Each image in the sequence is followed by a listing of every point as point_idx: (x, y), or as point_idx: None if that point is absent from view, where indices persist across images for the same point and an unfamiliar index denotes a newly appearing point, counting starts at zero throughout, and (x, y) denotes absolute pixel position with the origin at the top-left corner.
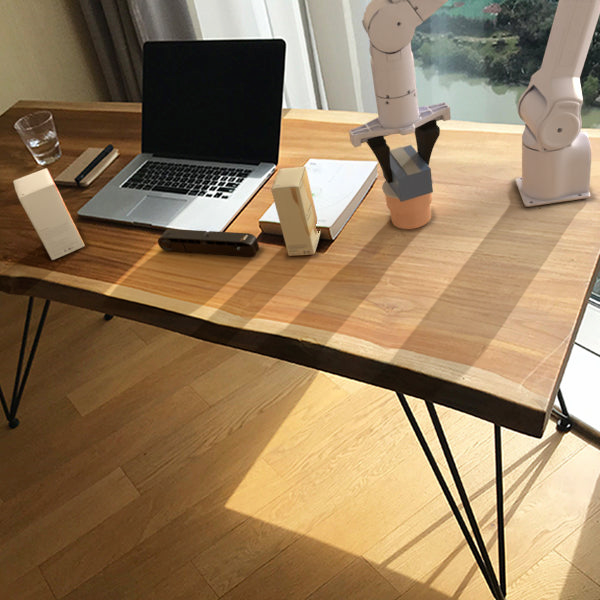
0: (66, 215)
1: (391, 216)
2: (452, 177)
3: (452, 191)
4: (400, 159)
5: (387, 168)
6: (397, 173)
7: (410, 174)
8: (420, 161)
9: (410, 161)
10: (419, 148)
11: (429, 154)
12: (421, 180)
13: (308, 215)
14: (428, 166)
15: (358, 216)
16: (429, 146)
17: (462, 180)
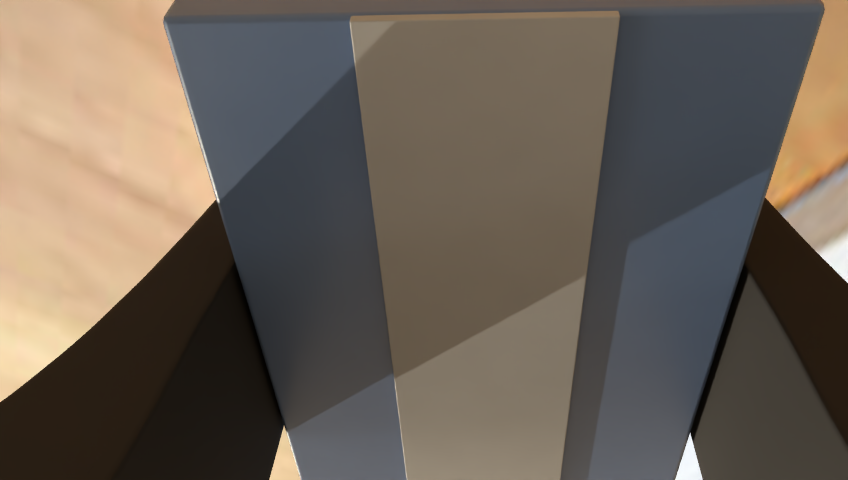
0: None
1: None
2: (131, 246)
3: (146, 128)
4: (520, 403)
5: (828, 307)
6: (731, 155)
7: (561, 13)
8: (289, 271)
9: (420, 322)
10: (242, 463)
11: (124, 319)
12: None
13: None
14: (192, 100)
15: (792, 154)
16: (46, 431)
17: (75, 198)
